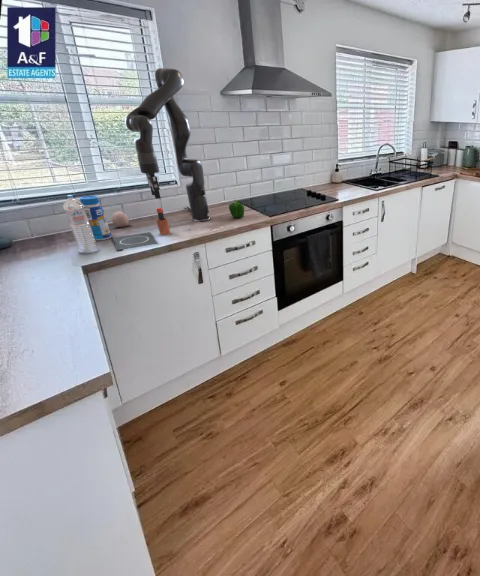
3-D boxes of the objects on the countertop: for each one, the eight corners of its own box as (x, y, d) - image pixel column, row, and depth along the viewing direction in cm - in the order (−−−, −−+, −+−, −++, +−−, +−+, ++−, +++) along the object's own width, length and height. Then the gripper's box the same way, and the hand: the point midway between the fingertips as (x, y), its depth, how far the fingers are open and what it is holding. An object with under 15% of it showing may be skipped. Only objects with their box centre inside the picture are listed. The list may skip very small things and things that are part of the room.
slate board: (112, 238, 180) (112, 237, 180) (150, 233, 189) (149, 231, 189) (117, 251, 166) (117, 249, 166) (157, 244, 175) (157, 242, 175)
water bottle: (78, 255, 160) (57, 197, 149) (81, 250, 166) (61, 194, 155) (97, 253, 163) (78, 196, 152) (99, 248, 169) (81, 193, 157)
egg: (133, 225, 200) (128, 209, 196) (125, 229, 193) (120, 213, 190) (119, 224, 199) (114, 209, 196) (111, 228, 193) (106, 213, 189)
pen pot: (159, 233, 188) (155, 218, 185) (169, 232, 191) (166, 217, 188) (161, 236, 185) (157, 221, 182) (171, 234, 188) (168, 219, 184)
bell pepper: (242, 219, 215) (240, 202, 211) (228, 218, 215) (226, 201, 211) (247, 215, 223) (245, 198, 218) (234, 214, 223) (231, 198, 218)
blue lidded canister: (89, 237, 180) (75, 196, 171) (109, 234, 186) (97, 194, 177) (93, 242, 175) (79, 200, 166) (114, 238, 181) (101, 197, 172)
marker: (162, 233, 188) (155, 208, 182) (167, 232, 190) (161, 207, 184) (163, 234, 186) (156, 209, 181) (168, 233, 188) (162, 208, 182)
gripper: (160, 163, 170) (168, 198, 177) (154, 159, 179) (162, 193, 187) (141, 164, 165) (150, 200, 172) (136, 160, 175) (145, 194, 182)
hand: (156, 196), depth 180 cm, fingers open, 8 cm apart
